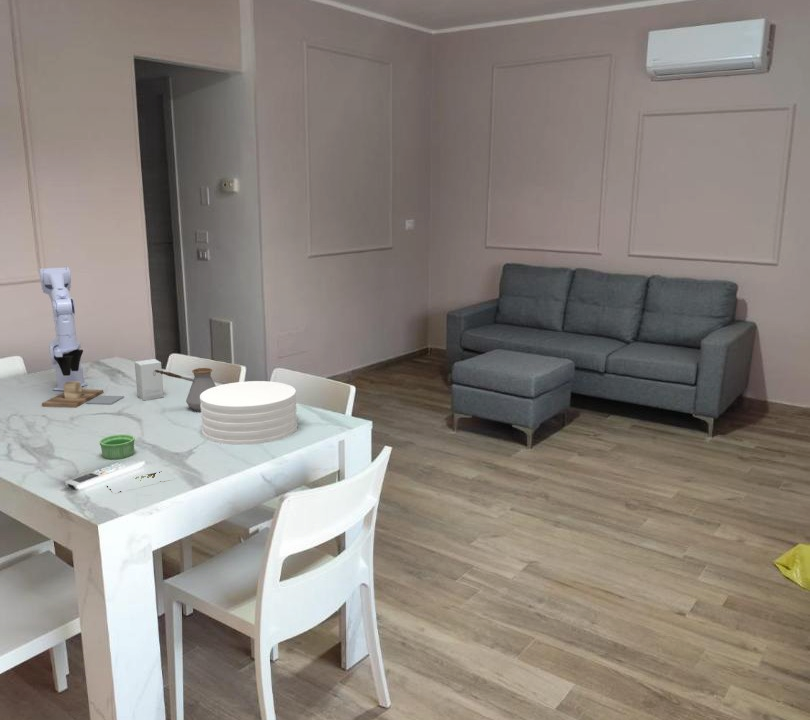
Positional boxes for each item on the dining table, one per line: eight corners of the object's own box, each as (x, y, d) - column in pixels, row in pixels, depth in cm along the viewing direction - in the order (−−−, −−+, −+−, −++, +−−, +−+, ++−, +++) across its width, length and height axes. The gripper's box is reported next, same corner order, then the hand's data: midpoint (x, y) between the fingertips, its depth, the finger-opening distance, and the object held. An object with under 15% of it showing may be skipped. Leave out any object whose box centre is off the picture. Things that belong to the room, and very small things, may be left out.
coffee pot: (216, 401, 252) (213, 358, 249) (227, 409, 243) (224, 364, 240) (152, 411, 241) (148, 366, 238) (161, 420, 232) (157, 373, 228)
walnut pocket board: (71, 392, 264) (71, 388, 264) (103, 393, 263) (103, 389, 263) (42, 406, 247) (41, 403, 247) (76, 407, 245) (75, 404, 245)
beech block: (71, 398, 257) (69, 381, 256) (82, 398, 257) (80, 381, 255) (65, 401, 253) (63, 384, 252) (76, 401, 253) (74, 384, 251)
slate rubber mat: (99, 396, 258) (99, 395, 258) (124, 397, 257) (124, 396, 257) (86, 403, 250) (85, 402, 250) (111, 404, 249) (111, 403, 249)
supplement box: (164, 397, 257) (161, 362, 254) (142, 401, 253) (139, 365, 250) (158, 392, 263) (155, 358, 260) (137, 396, 259) (133, 361, 256)
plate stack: (182, 438, 215) (179, 400, 213) (237, 411, 241) (235, 377, 238) (265, 450, 205) (263, 410, 203) (313, 421, 230) (312, 385, 228)
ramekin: (135, 458, 199) (133, 443, 198) (99, 462, 196) (97, 446, 195) (136, 447, 207) (135, 432, 206) (102, 451, 205) (101, 435, 204)
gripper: (64, 330, 257) (69, 368, 260) (44, 338, 243) (49, 378, 246) (85, 330, 257) (88, 368, 260) (65, 338, 243) (70, 378, 246)
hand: (70, 373), depth 253 cm, fingers open, 6 cm apart
